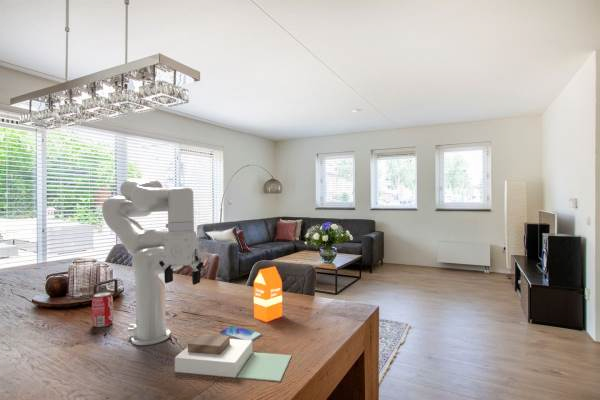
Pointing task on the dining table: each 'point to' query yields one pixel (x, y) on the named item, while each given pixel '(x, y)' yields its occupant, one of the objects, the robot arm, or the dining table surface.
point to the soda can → (102, 309)
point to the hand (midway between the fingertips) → (182, 282)
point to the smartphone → (240, 333)
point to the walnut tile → (209, 344)
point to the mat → (265, 367)
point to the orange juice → (268, 295)
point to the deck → (216, 360)
